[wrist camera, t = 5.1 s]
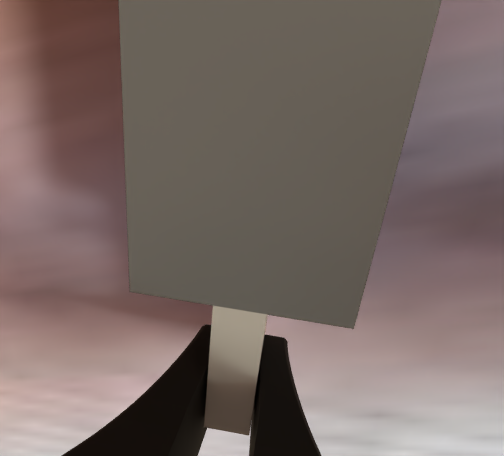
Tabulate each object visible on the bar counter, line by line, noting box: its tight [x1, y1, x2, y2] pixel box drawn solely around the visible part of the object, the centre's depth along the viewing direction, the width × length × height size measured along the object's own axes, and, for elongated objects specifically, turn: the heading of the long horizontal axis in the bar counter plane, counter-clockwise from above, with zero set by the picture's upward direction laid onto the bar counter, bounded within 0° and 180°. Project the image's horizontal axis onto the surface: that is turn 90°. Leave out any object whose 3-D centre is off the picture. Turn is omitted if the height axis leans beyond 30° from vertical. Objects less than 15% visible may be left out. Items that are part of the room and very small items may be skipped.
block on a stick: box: [119, 0, 442, 435], centre depth 10 cm, size 12×5×4 cm, turn 174°
